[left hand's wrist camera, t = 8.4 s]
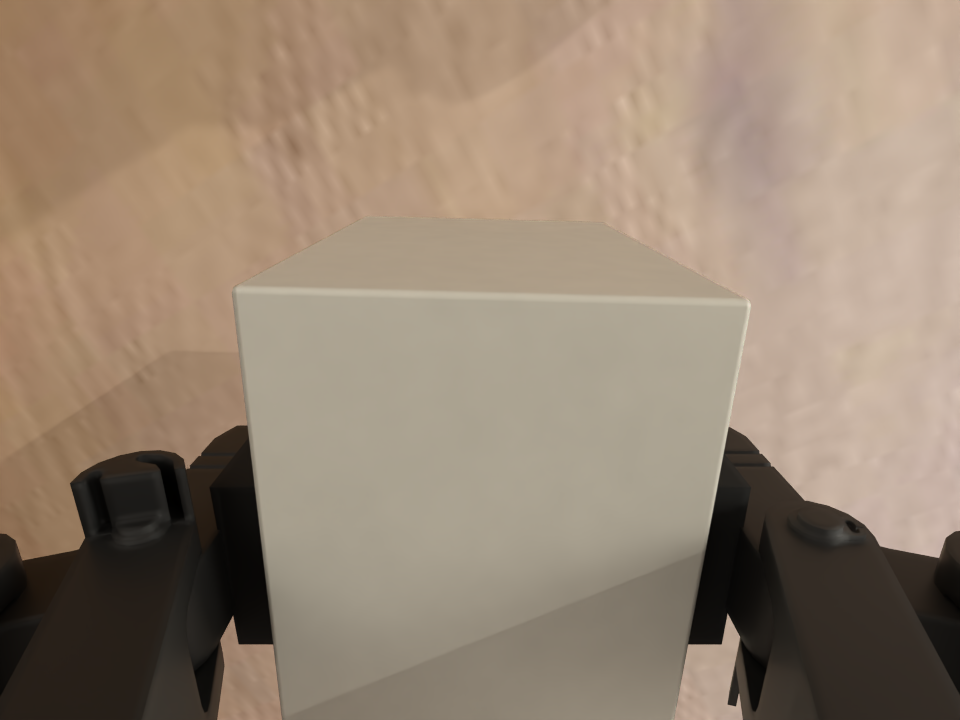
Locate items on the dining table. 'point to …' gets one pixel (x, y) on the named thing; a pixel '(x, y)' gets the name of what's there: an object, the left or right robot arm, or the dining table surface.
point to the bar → (484, 467)
